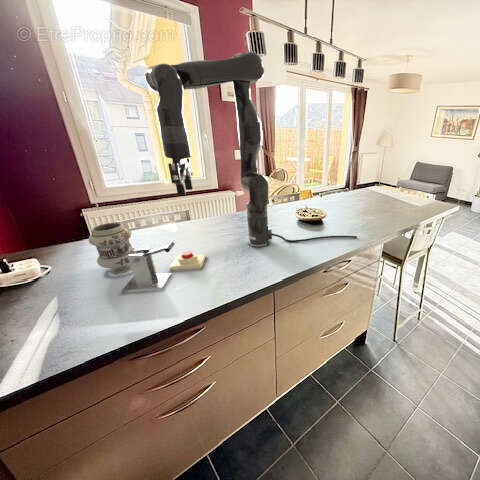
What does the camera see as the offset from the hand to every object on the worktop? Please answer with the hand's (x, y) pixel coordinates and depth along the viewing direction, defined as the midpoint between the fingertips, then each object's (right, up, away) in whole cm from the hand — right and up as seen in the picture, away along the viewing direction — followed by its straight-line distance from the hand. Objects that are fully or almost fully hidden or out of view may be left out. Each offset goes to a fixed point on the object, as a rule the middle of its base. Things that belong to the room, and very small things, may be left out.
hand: (186, 192), depth 83 cm
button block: (-7, -26, +14) cm, 31 cm away
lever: (-9, -21, -2) cm, 23 cm away
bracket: (-14, -32, +2) cm, 35 cm away
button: (-6, -23, +13) cm, 27 cm away
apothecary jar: (-29, -28, +9) cm, 41 cm away
